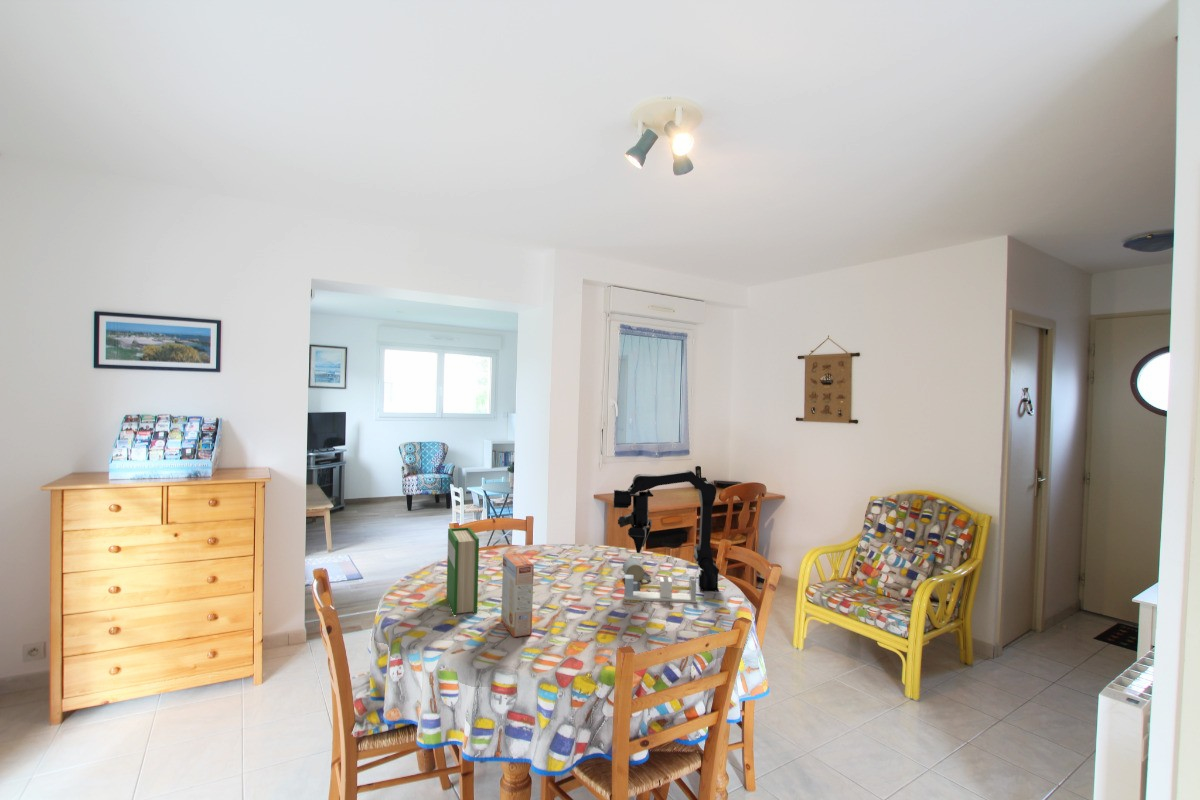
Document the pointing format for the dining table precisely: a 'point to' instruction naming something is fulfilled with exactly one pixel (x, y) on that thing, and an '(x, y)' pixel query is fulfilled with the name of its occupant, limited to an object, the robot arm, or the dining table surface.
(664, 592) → the marker sleeve
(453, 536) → the hardback book
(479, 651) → the dining table surface
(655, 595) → the cord rig
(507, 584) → the cracker box
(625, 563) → the ceramic mug
